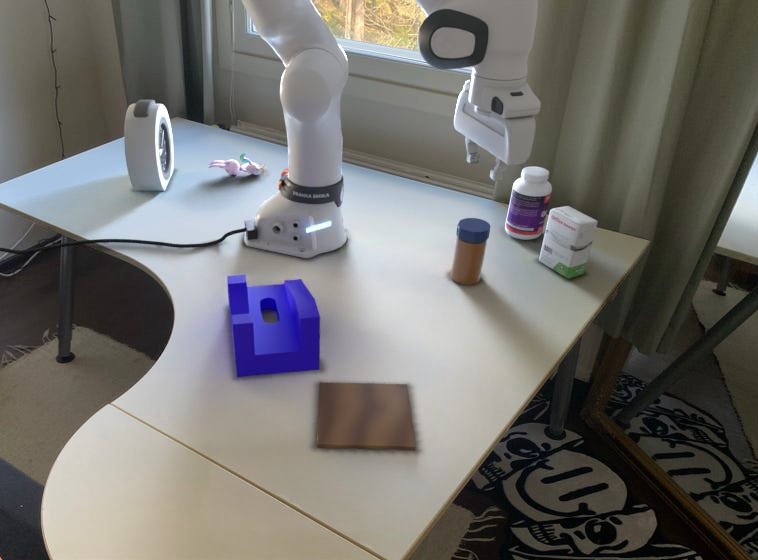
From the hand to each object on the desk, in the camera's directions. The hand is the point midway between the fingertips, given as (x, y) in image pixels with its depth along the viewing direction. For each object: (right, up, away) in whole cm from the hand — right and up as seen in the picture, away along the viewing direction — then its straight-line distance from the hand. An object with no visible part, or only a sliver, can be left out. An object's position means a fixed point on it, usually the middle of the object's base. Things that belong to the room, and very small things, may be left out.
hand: (483, 170), depth 120 cm
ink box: (+20, -15, +17) cm, 30 cm away
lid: (0, -9, +7) cm, 11 cm away
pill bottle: (+16, -6, +29) cm, 33 cm away
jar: (0, -17, +14) cm, 22 cm away
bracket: (-38, -30, -2) cm, 49 cm away
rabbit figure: (-50, +15, +56) cm, 76 cm away
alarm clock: (-71, +12, +53) cm, 89 cm away
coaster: (-23, -43, -19) cm, 52 cm away
